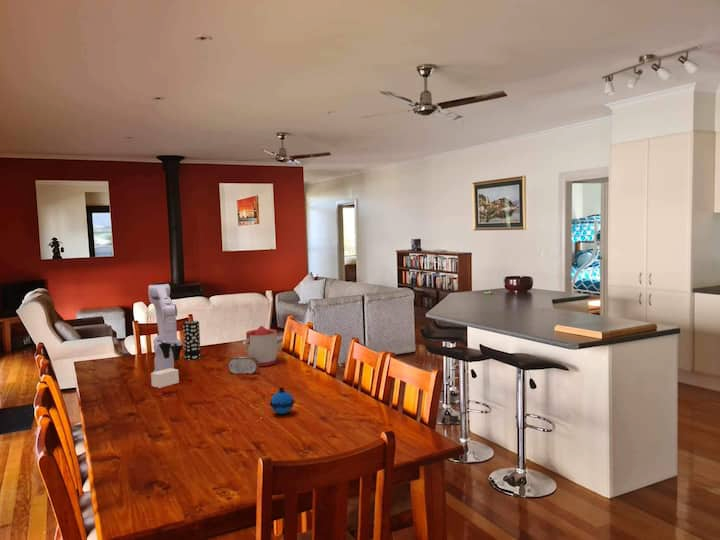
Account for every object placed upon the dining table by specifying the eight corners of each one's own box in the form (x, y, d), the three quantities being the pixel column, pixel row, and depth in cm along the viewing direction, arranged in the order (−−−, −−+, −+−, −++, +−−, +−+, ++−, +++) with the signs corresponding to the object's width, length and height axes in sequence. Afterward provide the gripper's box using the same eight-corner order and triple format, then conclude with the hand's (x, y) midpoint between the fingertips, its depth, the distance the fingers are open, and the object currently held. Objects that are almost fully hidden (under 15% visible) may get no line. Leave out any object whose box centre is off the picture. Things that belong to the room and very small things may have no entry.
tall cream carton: (151, 386, 238) (151, 372, 237) (171, 380, 246) (170, 367, 245) (159, 388, 234) (158, 374, 234) (178, 382, 242) (178, 369, 242)
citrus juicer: (241, 363, 275) (239, 325, 274) (273, 359, 283) (272, 322, 281) (247, 370, 261) (246, 330, 260) (282, 365, 269) (280, 326, 267)
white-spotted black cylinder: (195, 360, 283) (194, 323, 282) (181, 360, 285) (179, 323, 283) (203, 357, 291) (201, 321, 290) (189, 356, 293) (187, 320, 292)
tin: (259, 373, 256) (259, 355, 255) (257, 374, 252) (257, 357, 252) (229, 373, 257) (228, 355, 256) (227, 374, 254) (226, 357, 253)
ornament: (298, 411, 199) (297, 385, 198) (284, 419, 192) (283, 392, 191) (280, 408, 203) (279, 382, 203) (265, 415, 196) (264, 388, 195)
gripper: (153, 330, 248) (155, 359, 249) (171, 333, 239) (173, 363, 240) (166, 328, 254) (168, 355, 255) (185, 330, 245) (186, 359, 246)
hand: (171, 359), depth 248 cm, fingers open, 7 cm apart
